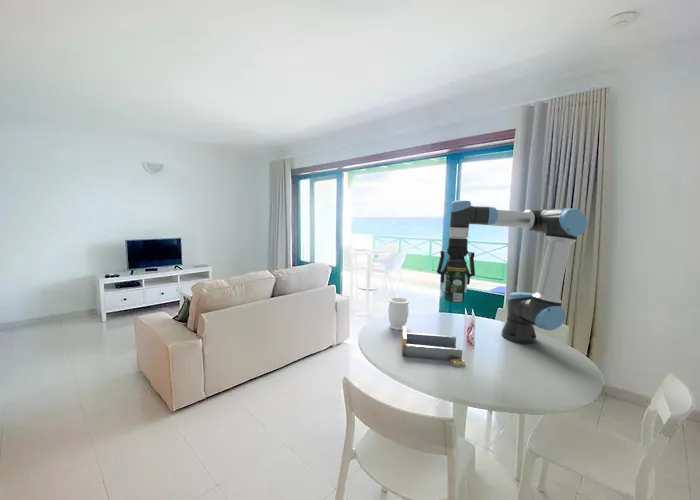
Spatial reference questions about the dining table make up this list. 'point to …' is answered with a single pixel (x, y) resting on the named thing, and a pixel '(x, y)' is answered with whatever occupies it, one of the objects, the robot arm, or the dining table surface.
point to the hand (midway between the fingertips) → (454, 290)
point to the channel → (429, 346)
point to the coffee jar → (455, 281)
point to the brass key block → (457, 362)
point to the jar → (398, 313)
